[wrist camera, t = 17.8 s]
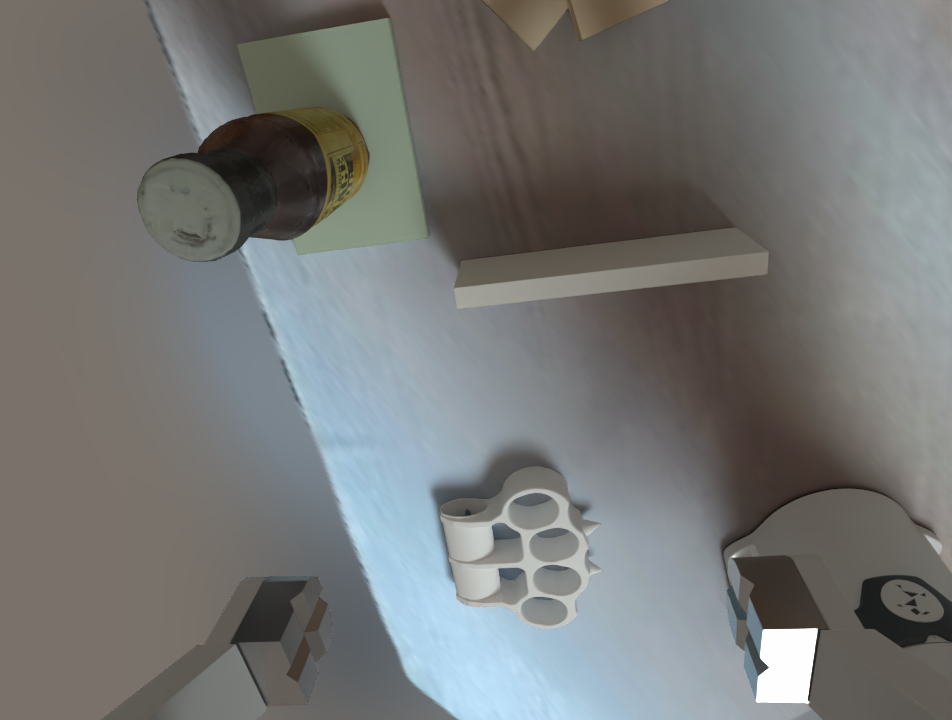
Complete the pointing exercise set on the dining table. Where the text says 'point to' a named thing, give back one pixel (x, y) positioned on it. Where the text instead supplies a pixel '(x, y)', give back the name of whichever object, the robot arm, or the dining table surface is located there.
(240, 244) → the sauce bottle
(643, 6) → the offcut upper
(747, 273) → the rail
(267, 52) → the green mat
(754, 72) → the dining table surface
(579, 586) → the white hole rack
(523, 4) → the offcut lower
